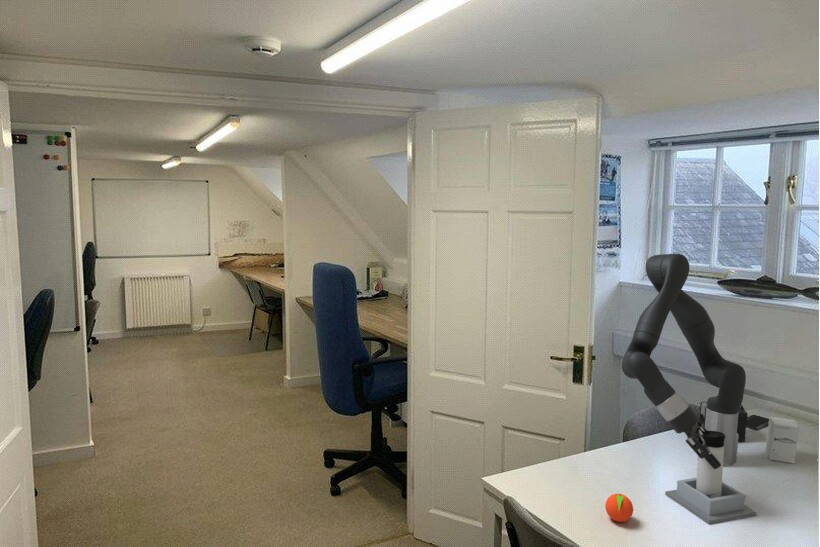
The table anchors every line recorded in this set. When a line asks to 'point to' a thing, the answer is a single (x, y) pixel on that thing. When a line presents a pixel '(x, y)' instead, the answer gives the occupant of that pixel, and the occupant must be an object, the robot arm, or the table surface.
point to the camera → (741, 424)
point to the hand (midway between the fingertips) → (719, 462)
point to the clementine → (619, 507)
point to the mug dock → (711, 502)
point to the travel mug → (706, 475)
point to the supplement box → (782, 439)
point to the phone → (756, 422)
